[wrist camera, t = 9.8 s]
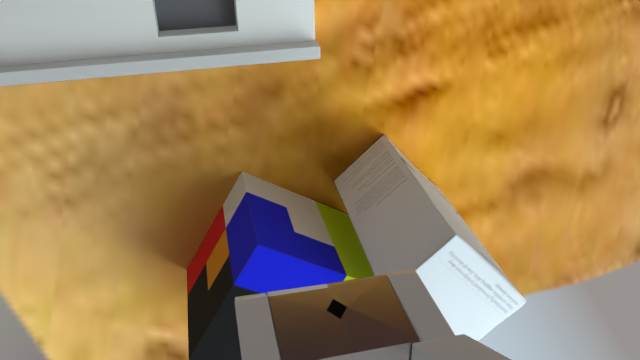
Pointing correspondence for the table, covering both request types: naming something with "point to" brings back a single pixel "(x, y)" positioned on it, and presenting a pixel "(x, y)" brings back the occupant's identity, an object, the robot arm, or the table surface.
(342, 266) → the puzzle toy
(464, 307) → the skincare box
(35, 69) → the platform
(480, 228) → the table surface
